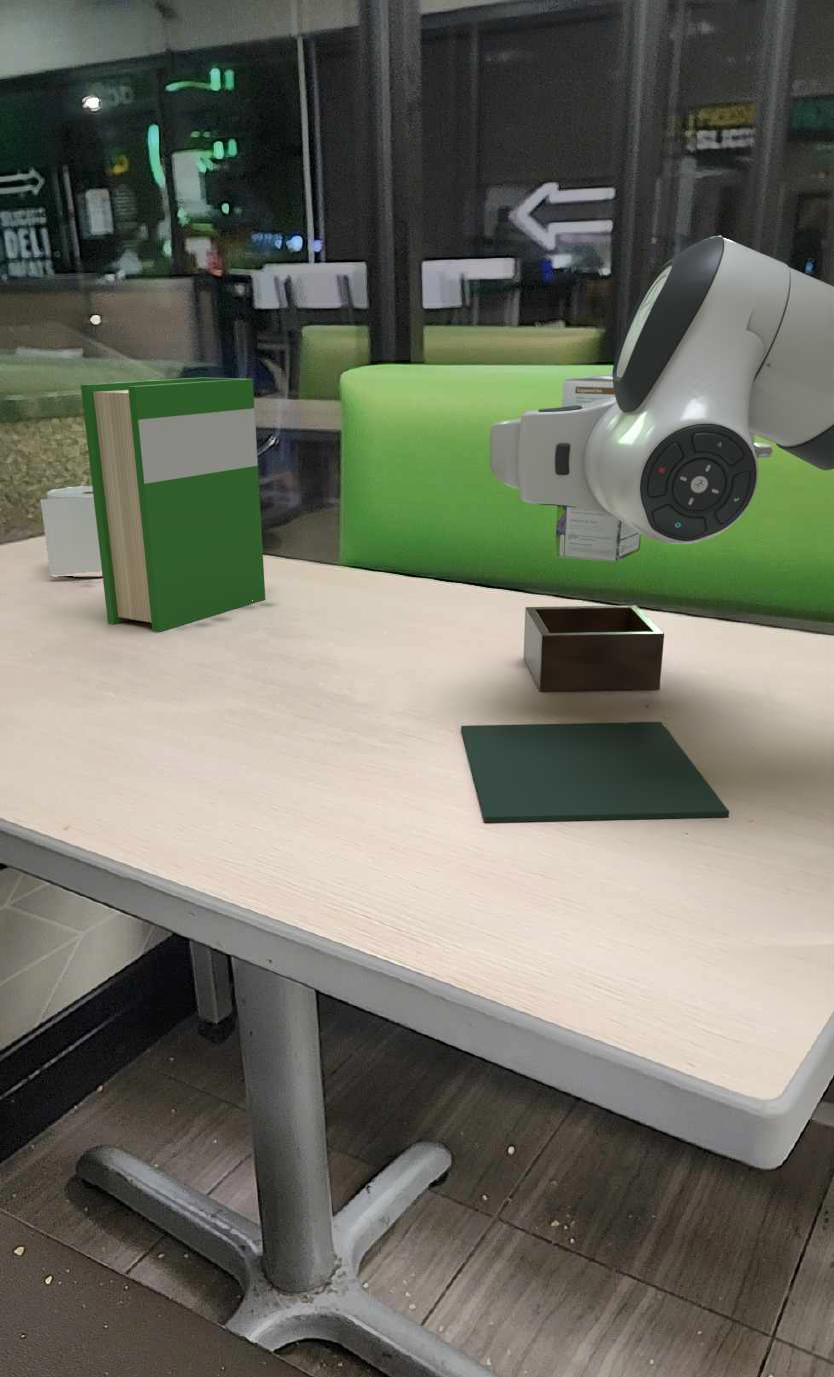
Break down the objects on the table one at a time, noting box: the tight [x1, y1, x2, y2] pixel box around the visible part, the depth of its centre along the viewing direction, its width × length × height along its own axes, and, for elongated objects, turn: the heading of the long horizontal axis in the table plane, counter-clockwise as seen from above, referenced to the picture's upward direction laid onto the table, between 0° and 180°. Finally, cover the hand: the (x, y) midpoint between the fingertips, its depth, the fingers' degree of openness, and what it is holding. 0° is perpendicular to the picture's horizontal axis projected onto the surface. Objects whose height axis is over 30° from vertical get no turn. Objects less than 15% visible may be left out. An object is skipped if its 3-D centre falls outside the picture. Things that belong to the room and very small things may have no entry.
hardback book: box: [80, 376, 266, 633], centre depth 122 cm, size 18×7×24 cm, turn 148°
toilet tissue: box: [39, 485, 103, 578], centre depth 145 cm, size 11×12×10 cm
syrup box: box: [554, 373, 642, 562], centre depth 95 cm, size 6×6×14 cm
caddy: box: [523, 604, 665, 692], centre depth 102 cm, size 11×11×5 cm
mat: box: [460, 721, 730, 823], centre depth 81 cm, size 16×18×1 cm
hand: (602, 438), depth 95 cm, fingers closed on syrup box, 8 cm apart
